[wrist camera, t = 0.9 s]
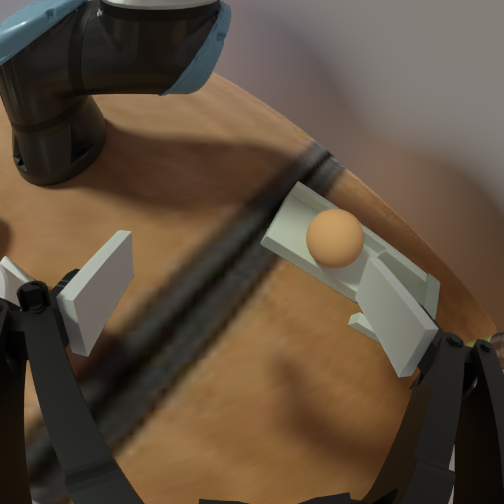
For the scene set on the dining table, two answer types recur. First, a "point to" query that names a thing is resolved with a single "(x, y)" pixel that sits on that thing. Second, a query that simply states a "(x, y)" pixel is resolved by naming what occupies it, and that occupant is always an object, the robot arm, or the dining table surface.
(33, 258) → the dining table surface
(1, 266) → the medicine bottle
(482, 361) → the robot arm
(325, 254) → the ball
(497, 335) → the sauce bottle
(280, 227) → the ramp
